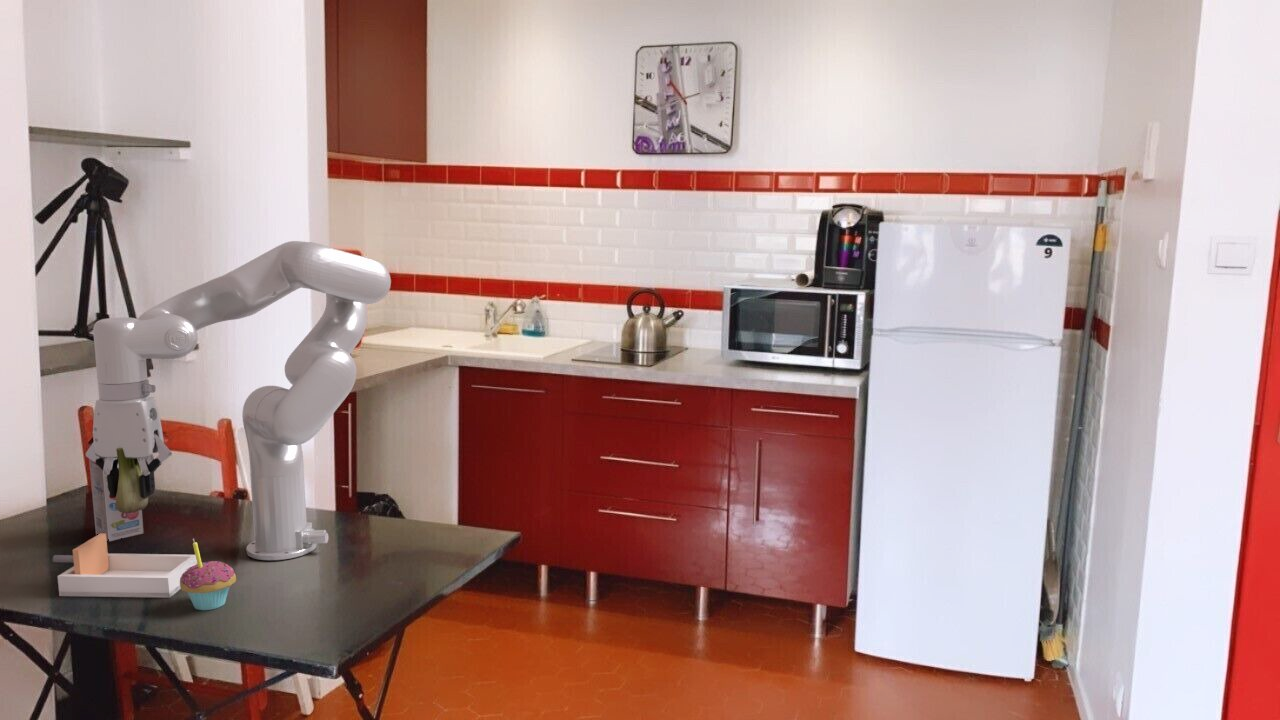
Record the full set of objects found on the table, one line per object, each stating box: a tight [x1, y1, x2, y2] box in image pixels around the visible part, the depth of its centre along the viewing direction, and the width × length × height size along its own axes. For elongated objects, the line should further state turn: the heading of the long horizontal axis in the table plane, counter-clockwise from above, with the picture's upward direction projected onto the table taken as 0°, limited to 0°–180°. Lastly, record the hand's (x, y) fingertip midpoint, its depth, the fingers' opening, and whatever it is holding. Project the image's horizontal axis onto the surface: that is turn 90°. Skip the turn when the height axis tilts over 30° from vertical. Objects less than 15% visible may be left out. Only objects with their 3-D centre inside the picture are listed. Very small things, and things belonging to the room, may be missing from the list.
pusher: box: [52, 533, 109, 575], centre depth 177 cm, size 7×8×7 cm
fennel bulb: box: [116, 448, 149, 513], centre depth 174 cm, size 6×5×12 cm
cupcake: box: [180, 538, 237, 611], centre depth 168 cm, size 9×8×12 cm
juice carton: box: [87, 428, 145, 542], centre depth 202 cm, size 7×7×22 cm
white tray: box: [57, 553, 197, 599], centre depth 177 cm, size 19×11×4 cm, turn 88°
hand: (132, 494), depth 174 cm, fingers closed on fennel bulb, 4 cm apart
